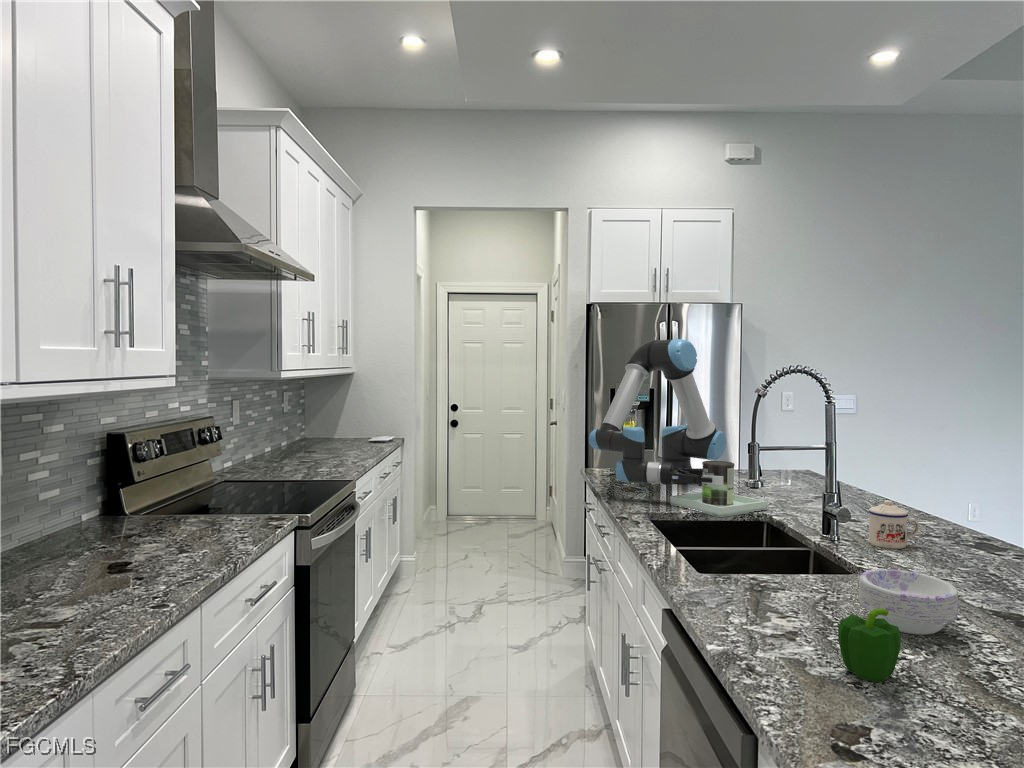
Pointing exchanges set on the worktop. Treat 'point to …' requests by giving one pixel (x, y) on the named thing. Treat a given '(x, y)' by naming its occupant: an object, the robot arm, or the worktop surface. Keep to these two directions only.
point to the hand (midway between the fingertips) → (725, 477)
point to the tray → (739, 507)
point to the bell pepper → (869, 645)
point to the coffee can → (718, 493)
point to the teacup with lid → (889, 526)
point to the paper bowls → (909, 599)
